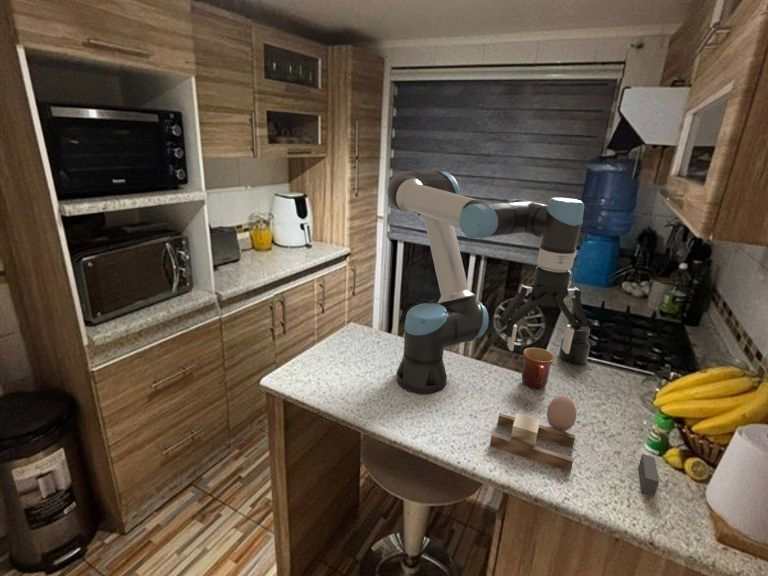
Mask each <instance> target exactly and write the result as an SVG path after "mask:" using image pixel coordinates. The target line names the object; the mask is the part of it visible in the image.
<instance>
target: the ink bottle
mask: <svg viewBox="0 0 768 576" xmlns="http://www.w3.org/2000/svg"><path fill="white" fill-rule="evenodd" d="M568 325H571V324H570V323H569V324H568ZM590 333H591V328H590V327H589V326H588V325H587V327H581V329H580V330H579V331H577V336H576V339H575V340H572V343H571V347H570V351H569V354H566V353H565V352H564V351H563V349H562V344H563V340H564V337H562V338H561V341H560V345H559V346H560V348H559V352H558V357H559V359H560V360H562V361H563V362H565V363H568V364H571V365H575V366H576V365H577V366H582V365H585V364H586V363H587V361H588V358H589V354H590V348H591V344H590V342H589V341H588V340H589V338H590V337H589V336H590Z"/></svg>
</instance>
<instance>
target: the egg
mask: <svg viewBox="0 0 768 576" xmlns="http://www.w3.org/2000/svg"><path fill="white" fill-rule="evenodd" d="M546 417H547V421H548V423H549V425H550V427H551V428H552V429H556V430H559V431H562V432H566V431H568V430H570V429H571V428H573V426H574V425H575V422H576V420H577V409H576V405H575V403H574V401H573V400H572V399H571V398H570V397H569V396H567V395H558V396H556V397H554V398H553V399H552V400H551V401H550V403H549V405H548V406H547V411H546Z"/></svg>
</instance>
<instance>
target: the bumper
mask: <svg viewBox="0 0 768 576" xmlns="http://www.w3.org/2000/svg"><path fill="white" fill-rule="evenodd" d="M637 469H638V480H639V487H640V493H641V494H644V495H648V496H650V497H652V498H653V497H655V496H656V493H657V489H658V486H659V483H660V479H659V473H658V467H657V462H656V458H655V457H654V456H651V455H648V454H644V453H641V456H640V460H639V463H638V467H637Z"/></svg>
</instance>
